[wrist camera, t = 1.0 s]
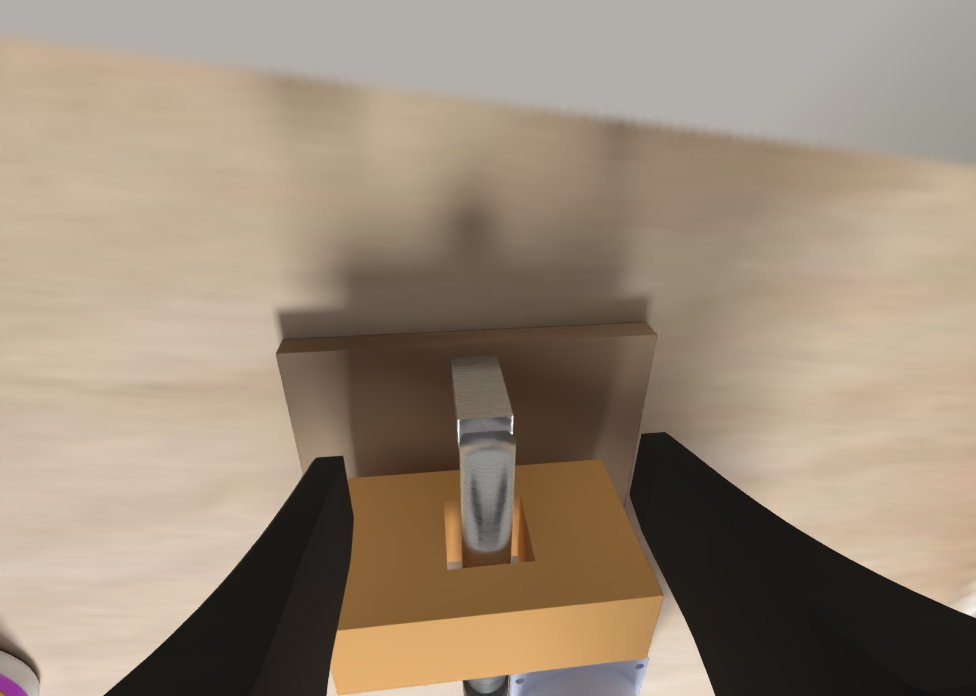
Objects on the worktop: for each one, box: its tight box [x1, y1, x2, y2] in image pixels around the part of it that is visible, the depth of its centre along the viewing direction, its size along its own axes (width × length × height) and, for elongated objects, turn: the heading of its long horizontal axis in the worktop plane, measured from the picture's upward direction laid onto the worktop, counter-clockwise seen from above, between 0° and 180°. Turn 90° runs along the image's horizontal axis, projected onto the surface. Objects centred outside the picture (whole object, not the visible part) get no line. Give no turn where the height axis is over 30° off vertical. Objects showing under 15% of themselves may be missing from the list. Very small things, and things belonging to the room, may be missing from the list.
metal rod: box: [451, 355, 516, 696], centre depth 19 cm, size 17×2×5 cm, turn 0°
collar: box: [330, 459, 664, 695], centre depth 17 cm, size 3×9×6 cm, turn 90°
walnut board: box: [276, 322, 657, 570], centre depth 22 cm, size 18×13×1 cm
